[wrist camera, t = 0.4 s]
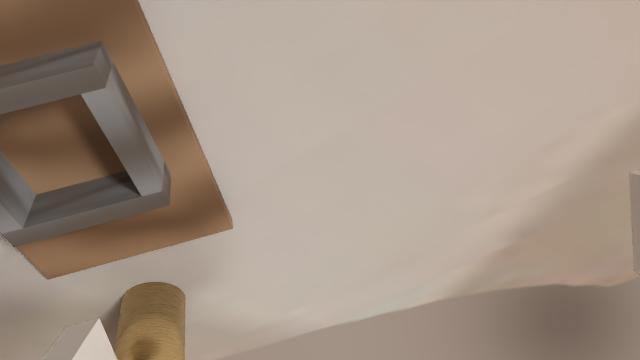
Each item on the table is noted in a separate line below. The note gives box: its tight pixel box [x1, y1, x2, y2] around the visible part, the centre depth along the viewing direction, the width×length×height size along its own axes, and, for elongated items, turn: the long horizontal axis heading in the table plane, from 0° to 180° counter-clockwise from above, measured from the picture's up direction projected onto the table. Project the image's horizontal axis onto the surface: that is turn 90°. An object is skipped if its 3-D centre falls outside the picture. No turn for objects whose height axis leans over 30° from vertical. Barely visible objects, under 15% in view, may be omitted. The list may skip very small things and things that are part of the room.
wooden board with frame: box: [0, 0, 233, 279], centre depth 25 cm, size 22×14×4 cm, turn 10°
